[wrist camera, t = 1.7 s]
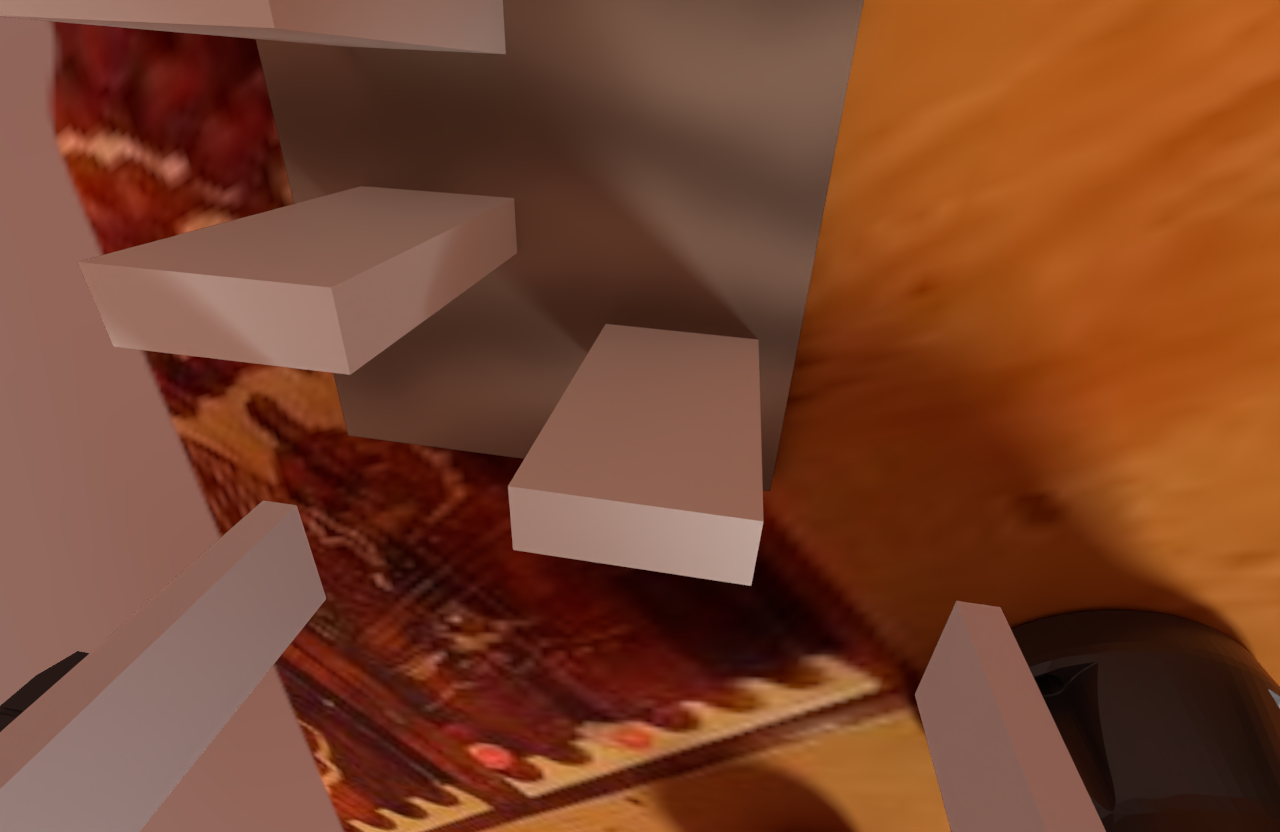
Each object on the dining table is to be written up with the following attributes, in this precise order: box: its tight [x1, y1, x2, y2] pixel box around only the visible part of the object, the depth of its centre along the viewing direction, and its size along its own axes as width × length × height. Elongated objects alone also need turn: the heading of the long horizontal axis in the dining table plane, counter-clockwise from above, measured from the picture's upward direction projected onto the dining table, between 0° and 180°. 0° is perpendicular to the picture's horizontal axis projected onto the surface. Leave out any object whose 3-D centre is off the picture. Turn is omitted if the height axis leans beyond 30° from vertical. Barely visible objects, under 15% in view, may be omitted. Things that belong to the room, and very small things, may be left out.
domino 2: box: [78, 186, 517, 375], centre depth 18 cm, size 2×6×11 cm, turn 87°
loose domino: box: [508, 324, 764, 586], centre depth 19 cm, size 2×6×11 cm, turn 88°
